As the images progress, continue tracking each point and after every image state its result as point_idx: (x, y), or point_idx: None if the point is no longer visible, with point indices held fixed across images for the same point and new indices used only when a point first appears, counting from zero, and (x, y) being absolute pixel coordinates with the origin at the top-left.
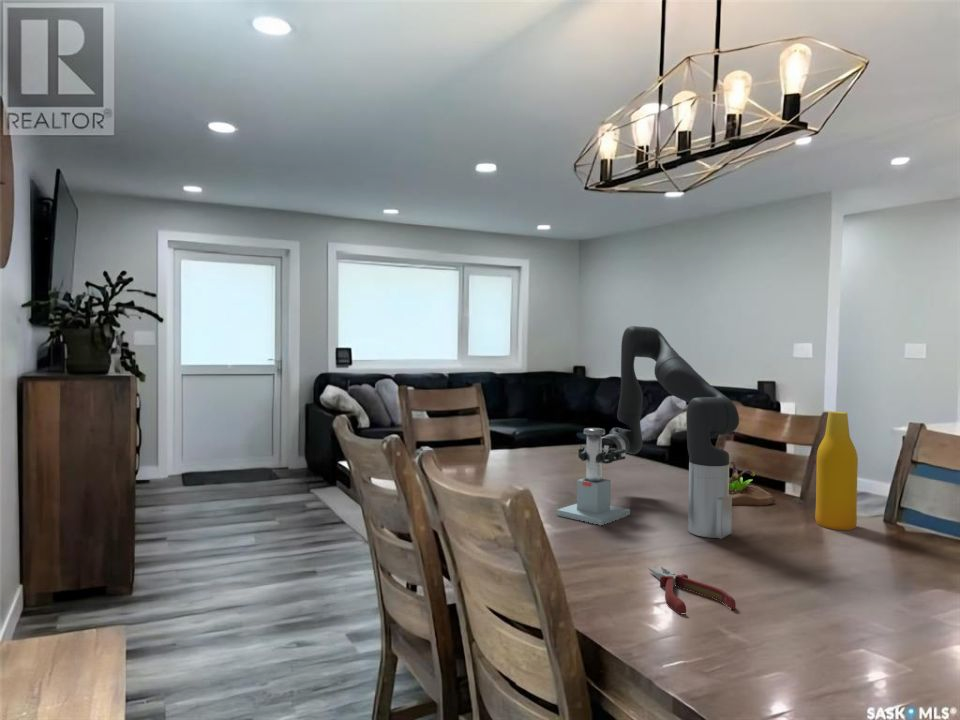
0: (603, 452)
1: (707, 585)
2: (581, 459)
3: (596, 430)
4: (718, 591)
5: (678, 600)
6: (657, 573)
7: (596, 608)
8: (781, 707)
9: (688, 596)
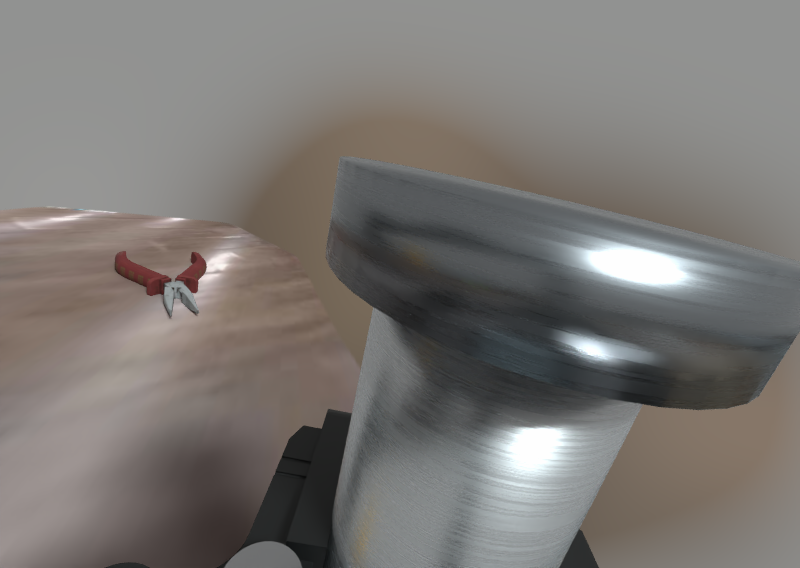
0: (304, 521)
1: (135, 264)
2: None
3: (448, 175)
4: (127, 259)
5: (197, 253)
6: (192, 294)
7: (286, 270)
8: (176, 218)
9: None
